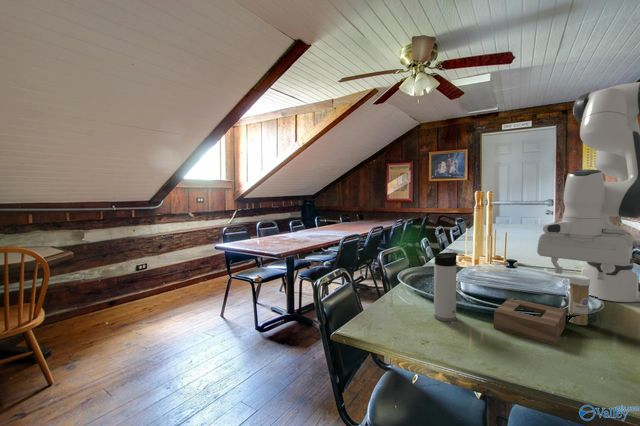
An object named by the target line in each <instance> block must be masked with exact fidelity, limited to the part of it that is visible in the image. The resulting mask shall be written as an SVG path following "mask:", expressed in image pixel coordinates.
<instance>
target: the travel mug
mask: <svg viewBox="0 0 640 426" xmlns="http://www.w3.org/2000/svg"><path fill="white" fill-rule="evenodd" d="M457 256H459V255H458V253H457V252H439V253H437V254H435V255H434V266H433V269H434V271H433V282H434V283H433V287H434V288H433V289H434V290H433V291H434V292H433V316H434V318H435V319H437V320H438V321H441V322H454V321H456V319H457V271H458V270H457Z"/></svg>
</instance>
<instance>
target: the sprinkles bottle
mask: <svg viewBox="0 0 640 426" xmlns="http://www.w3.org/2000/svg"><path fill="white" fill-rule="evenodd" d="M568 282H569V295H568V314H569V313H570V314H577V315H580V316H576V317H572V318H571V319H570V320H569V321H568V322H569V323H571V324H573V325H576V326H577V325H578V326H588V324H589V321H588V319H589V318H588V317H589V316H588V315H589V300H590V299H589V297H590V296H589V285H590V278H588V277H585V276H581V275H579V274H576V275H575V274H574V275H570V276H569V281H568Z"/></svg>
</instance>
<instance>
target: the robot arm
mask: <svg viewBox="0 0 640 426" xmlns="http://www.w3.org/2000/svg"><path fill="white" fill-rule="evenodd" d="M572 112H573V116H574V119H575V120H576V121H577V122H578V123H580V127H579V137H580V140H581V141H582V143H583V145H585V146H587V147H589V148H590V149H592V150H595V162H594V166H595V169H591V168H590V169H577V170H573V171H570V172H569V173H567V176H566V180H565V184H564V189H563V190H564V191H563V200H562V201H563V202H562V204H563V206H564V211H563V214H562V220H561V221H554V222H551V223H550V222H549V223H545V224H544V225H543V227H542V231H543V232H542V233H541V234H540V236H539V239H538V243H537V247H536V253H537V255H538V256H540V257H545V258H546V257H547V258H550V261H551V264H552V265H553V266H554V268H555V270H554V272H555V274H560V275H561V274H563V271H564V270H563V266H560V265H559V263H558V261H559V259H563V260H570V261H571V260H572V261H577V262H578V261H579V262H586V266H584V267H583V268H581V272H580V276H585V277H588V278H590V285H589V293H590V294H592V295H594V296H596V297H598V298H597V299H599V300H605V301H609V302H619V303H633V302H634V303H636V302H637V303H638V302H639V303H640V291H639V290H640V286H639V275H637V273H636V272H634V271H633V269H634V265H635V261H634V257H633V247H634V246H633V244H634V236H633V234H631V232H629V231H628V230H627V229H624V228H623V227H621V226H619V225H618V226H617V225H615V224H614V223H612V222H611V220H610V218H611V217H619V218H620V217H621V218H622V217H623V218H632V219H638V218H640V124H639V120H638V119H639V117H640V81H637V82H630V83H629V82H628V83H622V84H616V85H614V86H611V87H607V88H602V89H599V90H596V91H593V92H586V93H584V94H582V95H580V96H578V98H576V99H575V100H574V105H573V107H572ZM604 175H606V176H609V177H611V178H614V179H616V180H617V181H605V180H604Z"/></svg>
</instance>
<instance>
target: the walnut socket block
mask: <svg viewBox="0 0 640 426" xmlns="http://www.w3.org/2000/svg"><path fill="white" fill-rule="evenodd" d="M513 299H514V298H512V299H509V298H507V299H506V300H505V301H504V302H503V303H502V304H500V305H499V306H498V307H497V308H496V309H495V310H494V311H493V329H495V330H499V331H503V332H505V333H506V332H507V333H510V334H513V335H517V336H519V337H524V338H527V339H531V340H535V341H538V342H542V343H544V344H545V343H546V344H548V345H552V346H556V344H557V342H558V340H559V338H560V337H561V336H562V333H563V331H564V330H565V328H566V316H567V315H566V313H567V310H566V309H564V308H559V307H555V306H550V305H545V304H540V303H535V302H530V301H527V300H526V301H525V300H522V301H521V299H517V300H513ZM518 309H523V310H528V311H534V312H537V313H540V314H541V315H536V316H533V315H529V314H525V313H521V312H517V310H518Z"/></svg>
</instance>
